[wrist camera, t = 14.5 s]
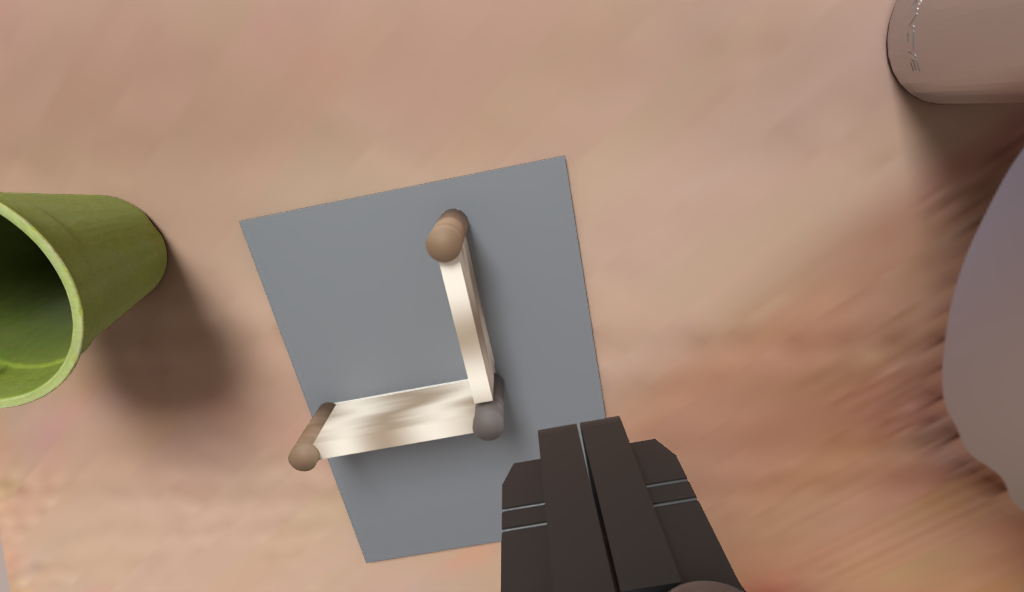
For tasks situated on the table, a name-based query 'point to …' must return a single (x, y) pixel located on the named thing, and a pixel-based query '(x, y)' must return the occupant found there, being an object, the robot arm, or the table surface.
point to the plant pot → (66, 282)
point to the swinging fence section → (398, 422)
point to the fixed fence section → (464, 300)
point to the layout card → (434, 338)
